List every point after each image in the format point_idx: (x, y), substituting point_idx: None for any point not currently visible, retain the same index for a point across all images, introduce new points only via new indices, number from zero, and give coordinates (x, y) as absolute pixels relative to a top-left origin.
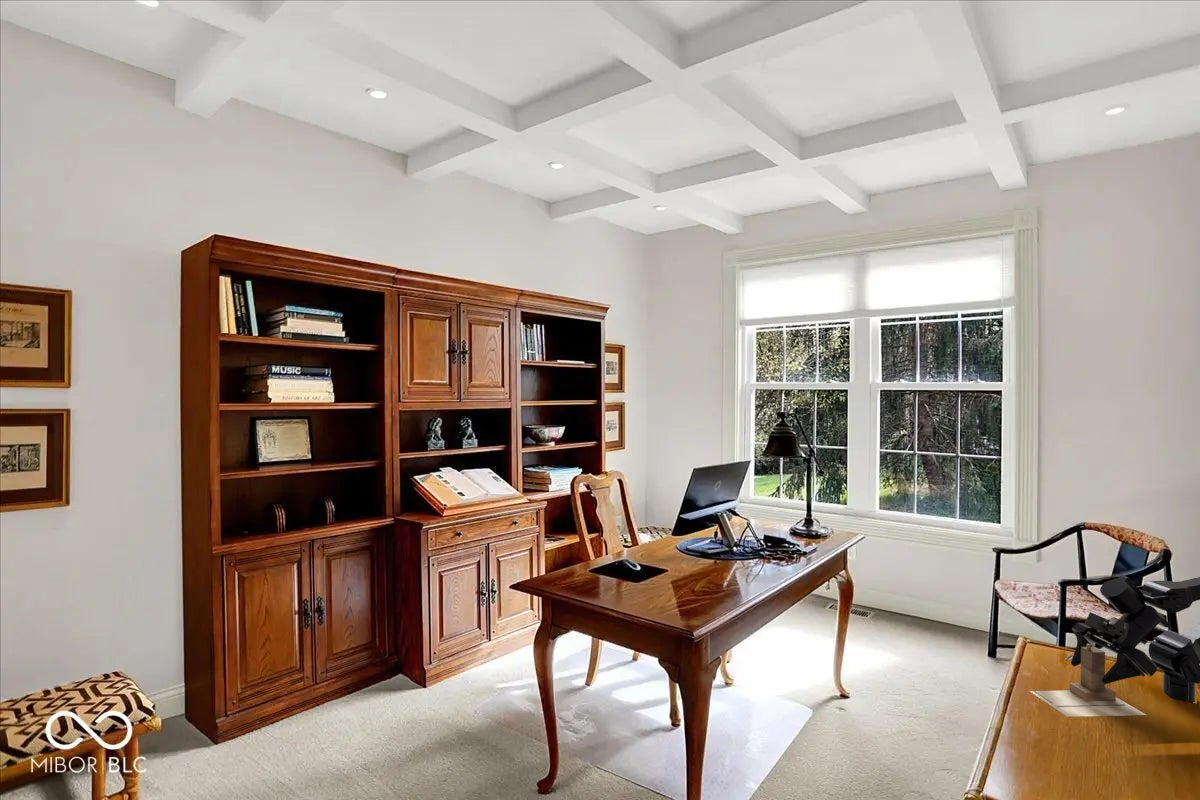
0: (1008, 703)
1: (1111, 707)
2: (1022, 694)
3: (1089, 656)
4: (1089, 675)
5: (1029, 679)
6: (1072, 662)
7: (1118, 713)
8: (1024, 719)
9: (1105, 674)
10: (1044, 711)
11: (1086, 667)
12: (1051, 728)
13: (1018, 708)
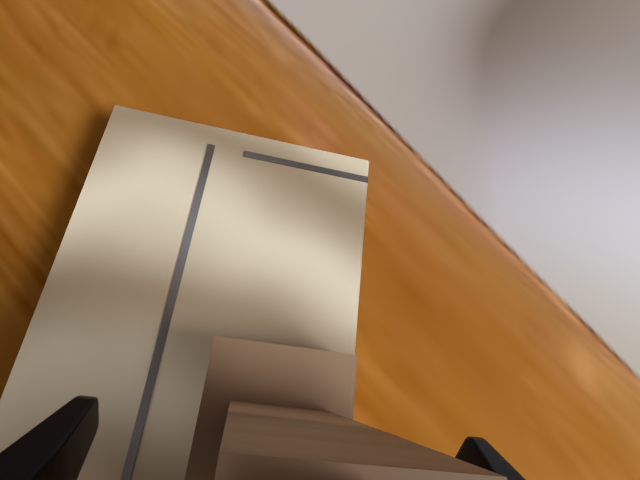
0: (326, 67)
1: (105, 433)
2: (387, 172)
3: (273, 441)
4: (252, 410)
5: (523, 324)
6: (477, 447)
7: (26, 403)
8: (206, 19)
9: (46, 453)
10: (240, 131)
11: (300, 421)
12: (116, 42)
13: (284, 66)
